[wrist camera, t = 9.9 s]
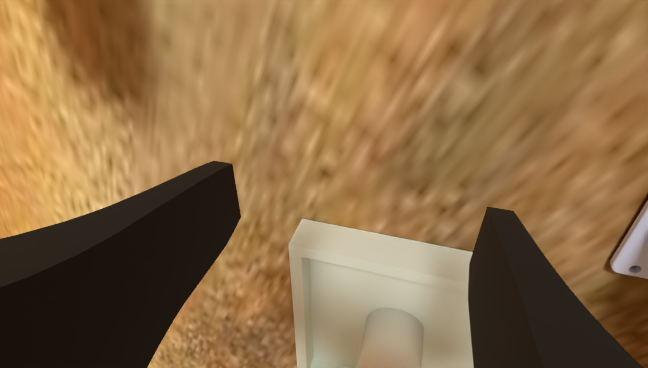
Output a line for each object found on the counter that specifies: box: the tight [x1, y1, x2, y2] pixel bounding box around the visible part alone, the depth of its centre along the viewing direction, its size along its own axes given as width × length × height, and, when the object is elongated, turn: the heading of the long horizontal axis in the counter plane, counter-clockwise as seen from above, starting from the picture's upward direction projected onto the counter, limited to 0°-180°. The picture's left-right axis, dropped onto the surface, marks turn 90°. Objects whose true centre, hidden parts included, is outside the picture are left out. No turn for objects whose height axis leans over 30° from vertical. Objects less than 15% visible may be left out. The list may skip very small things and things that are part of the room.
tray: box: [288, 219, 474, 368], centre depth 26 cm, size 14×15×2 cm
